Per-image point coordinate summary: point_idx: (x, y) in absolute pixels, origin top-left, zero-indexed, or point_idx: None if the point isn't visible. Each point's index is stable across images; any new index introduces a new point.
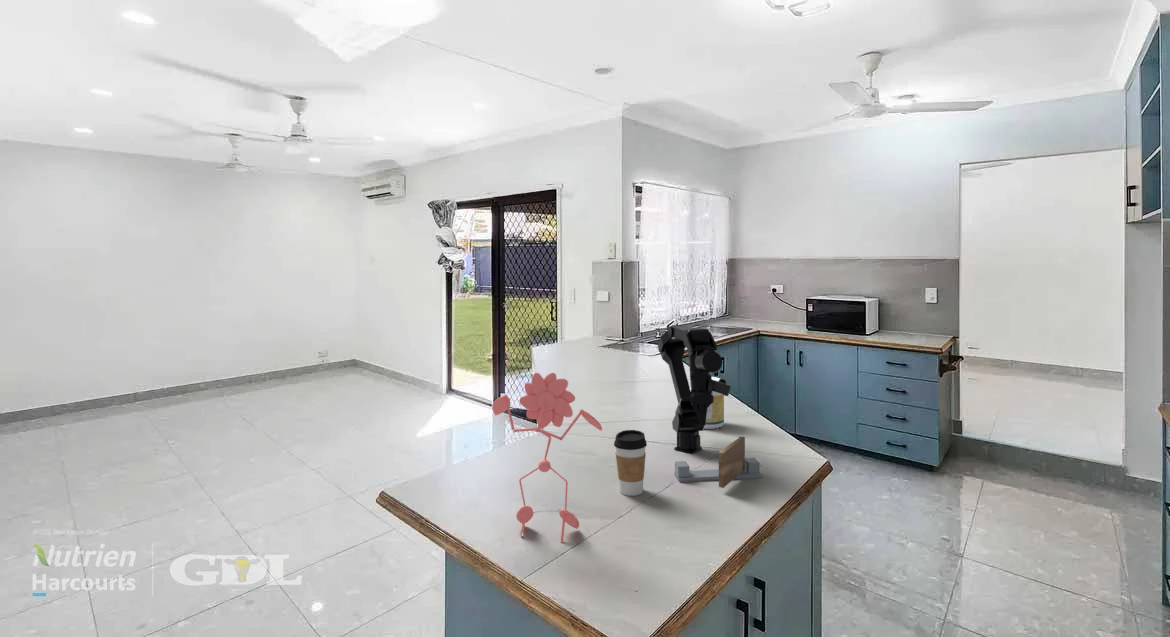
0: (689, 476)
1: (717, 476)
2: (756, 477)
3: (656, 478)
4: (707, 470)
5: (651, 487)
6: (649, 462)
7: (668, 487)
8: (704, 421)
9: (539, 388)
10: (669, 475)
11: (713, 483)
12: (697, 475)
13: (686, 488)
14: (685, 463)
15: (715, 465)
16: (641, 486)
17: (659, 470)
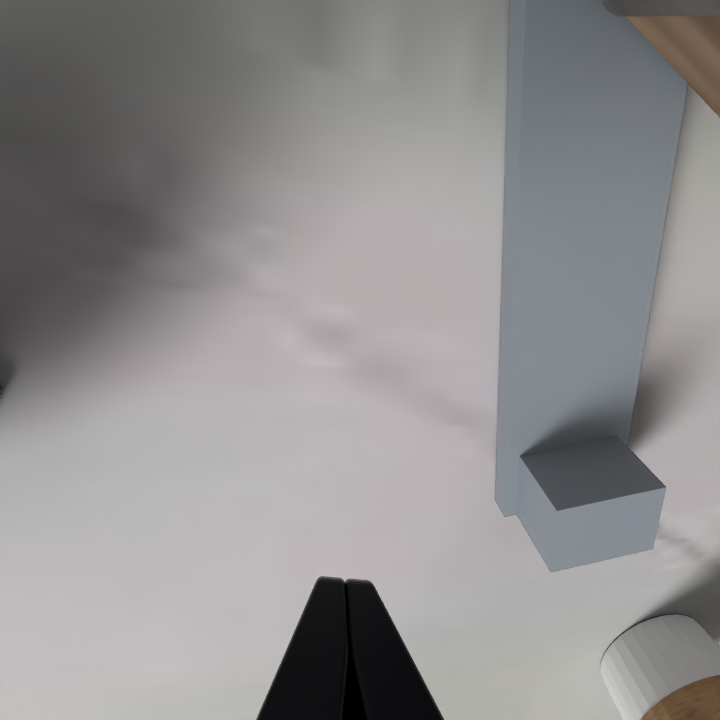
0: (619, 438)
1: (659, 248)
2: None
3: (525, 579)
4: (526, 309)
5: (634, 588)
6: (257, 634)
7: (659, 521)
8: (401, 659)
9: None
10: (493, 524)
11: (687, 276)
12: (604, 387)
13: (702, 439)
14: (604, 510)
15: (322, 201)
16: (716, 646)
17: (404, 576)
